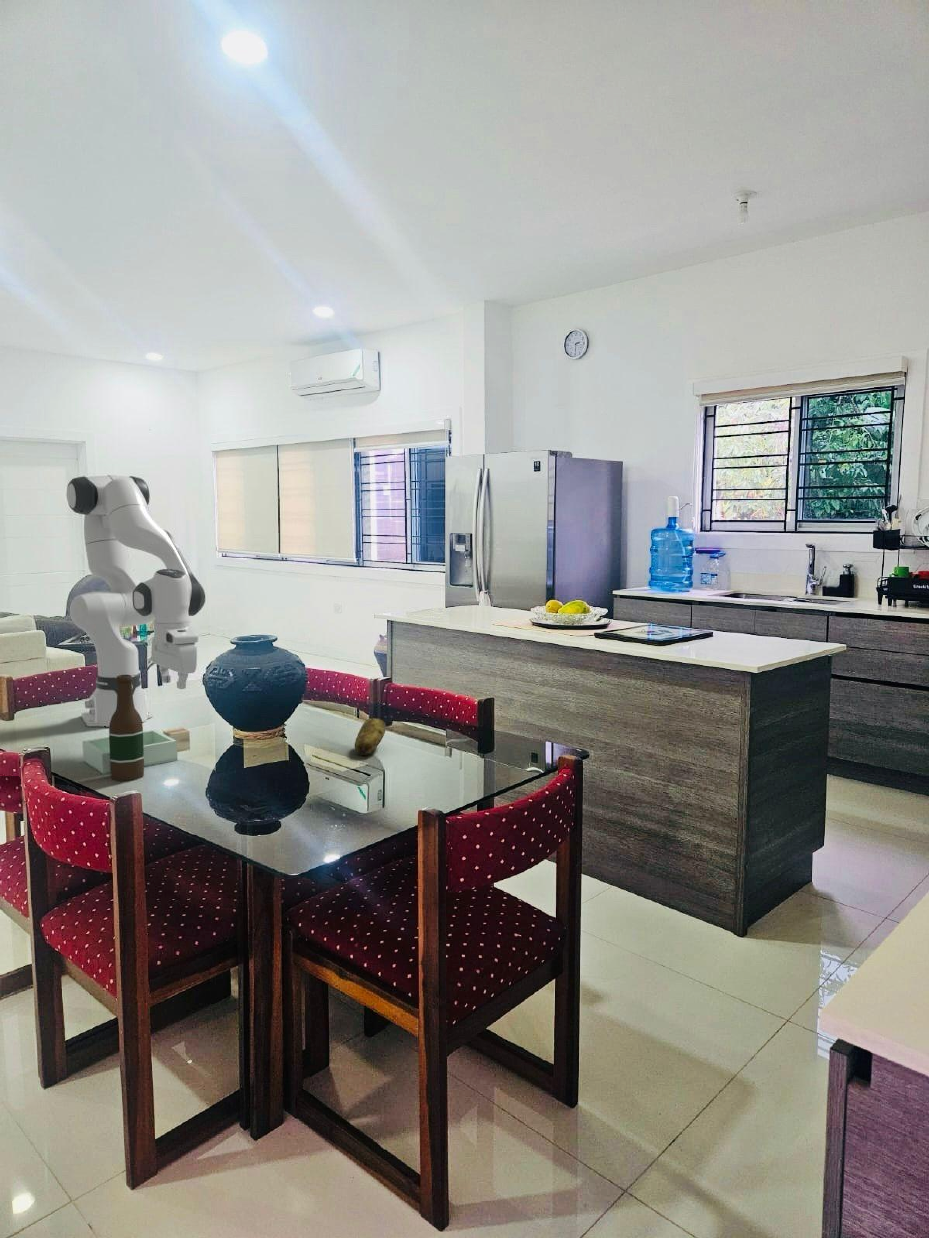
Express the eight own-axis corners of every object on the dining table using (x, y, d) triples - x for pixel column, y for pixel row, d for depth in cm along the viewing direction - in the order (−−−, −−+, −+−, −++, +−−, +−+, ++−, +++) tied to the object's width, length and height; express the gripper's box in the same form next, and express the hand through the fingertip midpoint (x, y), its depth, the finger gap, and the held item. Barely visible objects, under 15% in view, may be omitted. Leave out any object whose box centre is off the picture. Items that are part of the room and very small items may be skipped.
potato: (341, 754, 211) (341, 724, 210) (370, 742, 222) (370, 714, 221) (367, 759, 207) (367, 728, 206) (395, 747, 218) (396, 718, 217)
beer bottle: (118, 770, 194) (115, 672, 192) (151, 771, 194) (147, 672, 191) (103, 781, 187) (99, 678, 184) (137, 782, 186) (133, 679, 184)
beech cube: (163, 748, 214) (162, 730, 213) (182, 745, 217) (181, 727, 217) (171, 753, 210) (170, 734, 210) (189, 749, 213) (189, 731, 213)
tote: (83, 760, 202) (82, 741, 201) (155, 748, 214) (154, 729, 213) (102, 774, 192) (102, 753, 191) (177, 760, 204) (176, 740, 203)
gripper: (144, 629, 215) (145, 680, 217) (176, 638, 200) (178, 693, 202) (167, 627, 219) (169, 677, 221) (201, 636, 204) (202, 690, 206)
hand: (173, 685), depth 211 cm, fingers open, 8 cm apart
